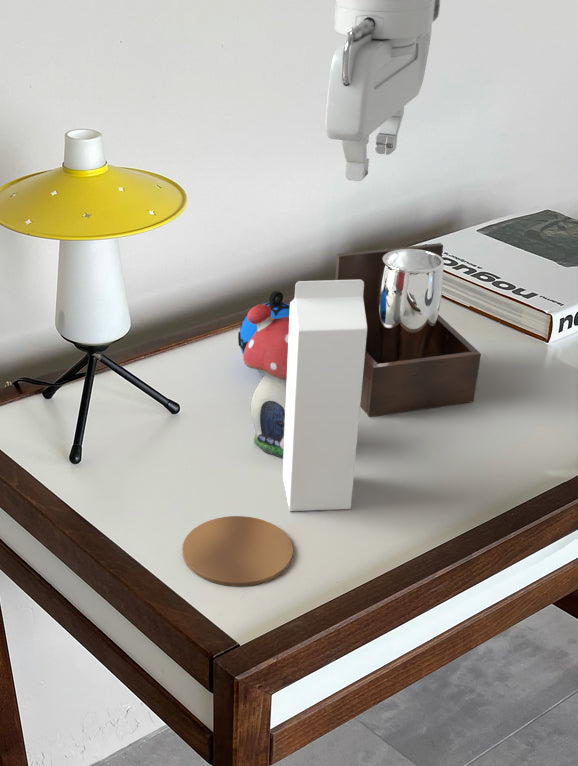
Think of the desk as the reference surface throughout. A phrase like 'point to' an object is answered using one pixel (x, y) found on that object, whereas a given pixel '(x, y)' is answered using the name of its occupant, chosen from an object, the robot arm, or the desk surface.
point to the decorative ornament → (268, 377)
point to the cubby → (417, 376)
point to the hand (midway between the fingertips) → (371, 165)
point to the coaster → (237, 551)
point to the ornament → (277, 312)
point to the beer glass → (408, 303)
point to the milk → (323, 393)
